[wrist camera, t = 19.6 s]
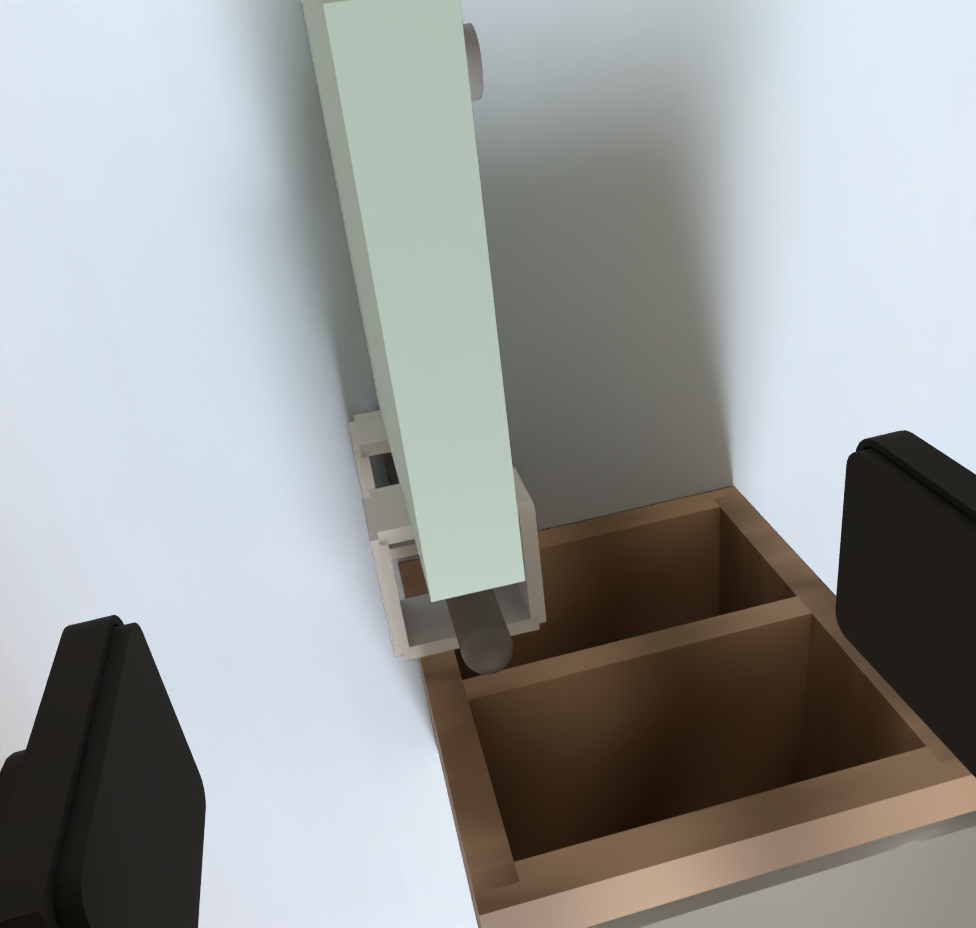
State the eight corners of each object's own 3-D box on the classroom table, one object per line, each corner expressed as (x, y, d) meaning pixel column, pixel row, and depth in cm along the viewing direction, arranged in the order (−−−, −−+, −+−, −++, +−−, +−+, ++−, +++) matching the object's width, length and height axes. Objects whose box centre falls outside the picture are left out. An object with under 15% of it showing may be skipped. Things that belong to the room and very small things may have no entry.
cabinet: (438, 751, 34) (523, 1126, 23) (371, 440, 27) (446, 759, 16) (730, 675, 36) (942, 992, 25) (736, 363, 29) (1033, 605, 18)
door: (257, -2, 21) (253, 13, 13) (421, -23, 22) (524, -23, 13) (368, 519, 29) (413, 750, 20) (489, 494, 29) (582, 708, 21)
